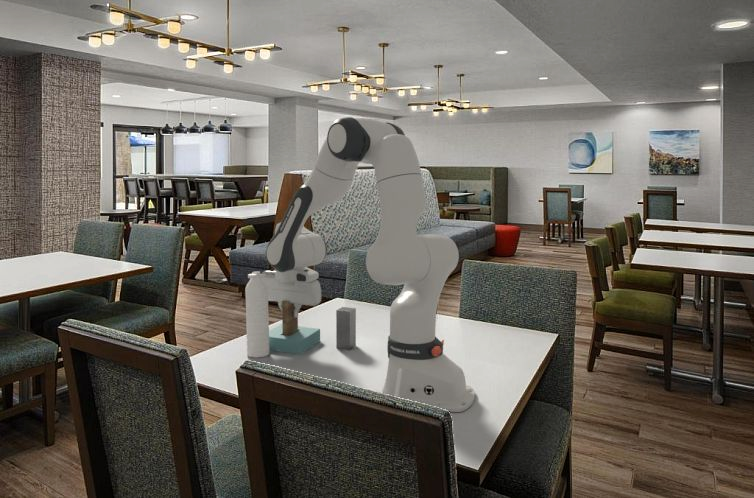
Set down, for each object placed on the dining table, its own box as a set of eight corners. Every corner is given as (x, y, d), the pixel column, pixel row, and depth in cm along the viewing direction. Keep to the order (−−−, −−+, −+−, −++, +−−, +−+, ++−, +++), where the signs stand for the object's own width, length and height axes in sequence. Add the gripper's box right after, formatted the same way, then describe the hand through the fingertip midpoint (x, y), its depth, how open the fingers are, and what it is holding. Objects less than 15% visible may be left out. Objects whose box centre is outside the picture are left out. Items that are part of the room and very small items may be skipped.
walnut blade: (298, 334, 170) (297, 297, 169) (288, 339, 165) (287, 301, 163) (292, 333, 171) (291, 296, 169) (282, 339, 166) (281, 301, 164)
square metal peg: (355, 345, 168) (355, 308, 166) (349, 350, 164) (349, 311, 162) (342, 343, 169) (342, 306, 167) (336, 348, 165) (336, 310, 163)
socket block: (320, 341, 172) (320, 329, 171) (300, 354, 160) (300, 341, 159) (282, 335, 177) (281, 324, 176) (259, 348, 165) (259, 335, 164)
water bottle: (250, 350, 163) (247, 269, 159) (271, 350, 162) (269, 269, 159) (242, 360, 154) (239, 275, 150) (265, 361, 154) (262, 275, 150)
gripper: (254, 271, 166) (255, 315, 168) (313, 277, 158) (314, 322, 161) (265, 268, 171) (266, 310, 174) (323, 273, 164) (323, 317, 166)
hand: (290, 316), depth 167 cm, fingers closed on walnut blade, 2 cm apart
